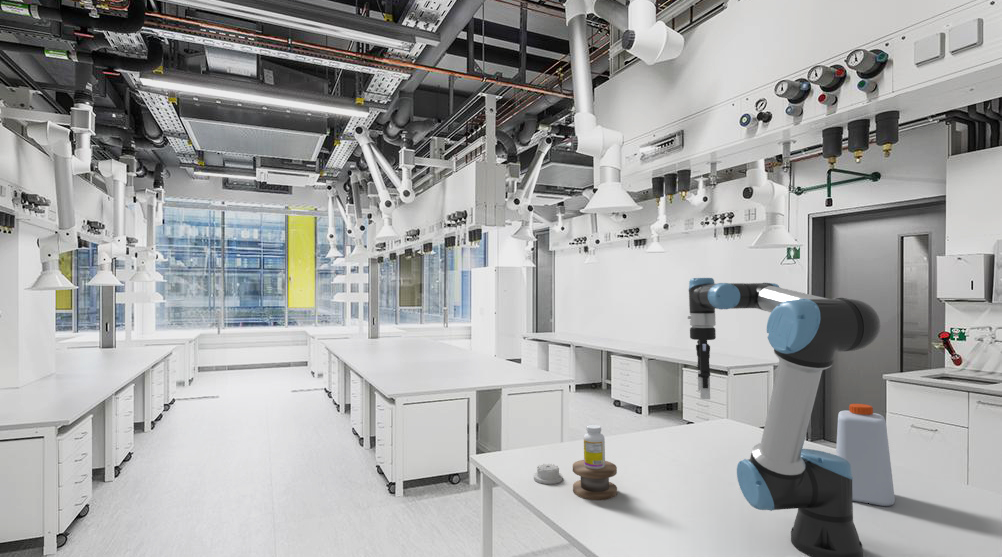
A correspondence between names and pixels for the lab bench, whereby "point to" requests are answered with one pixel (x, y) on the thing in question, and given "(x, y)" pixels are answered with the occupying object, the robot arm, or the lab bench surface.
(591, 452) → the supplement bottle
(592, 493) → the bobbin
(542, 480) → the mechanical component
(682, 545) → the lab bench surface
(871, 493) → the plastic bottle
